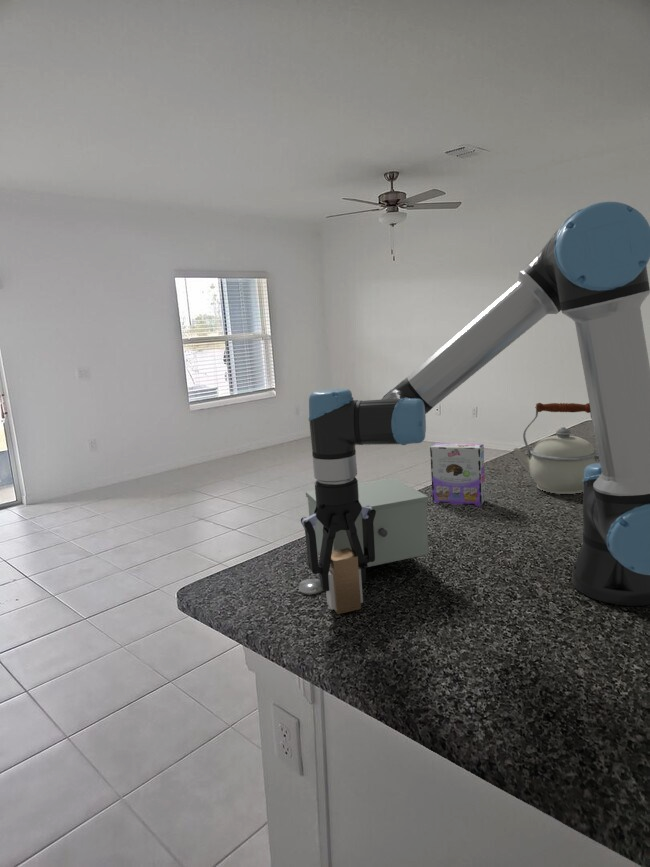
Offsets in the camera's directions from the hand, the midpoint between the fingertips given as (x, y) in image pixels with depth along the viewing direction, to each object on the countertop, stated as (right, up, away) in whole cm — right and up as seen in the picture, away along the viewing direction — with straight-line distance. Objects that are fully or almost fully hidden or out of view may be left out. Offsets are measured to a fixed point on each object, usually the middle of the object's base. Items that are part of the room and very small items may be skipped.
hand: (344, 602), depth 100 cm
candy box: (+34, +11, +55) cm, 65 cm away
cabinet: (+6, +2, +17) cm, 18 cm away
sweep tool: (-2, 0, +5) cm, 5 cm away
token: (-6, 0, +9) cm, 11 cm away
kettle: (+64, +15, +61) cm, 90 cm away
